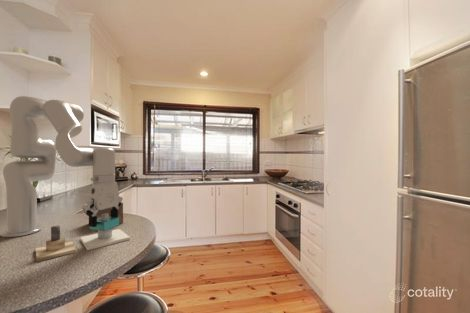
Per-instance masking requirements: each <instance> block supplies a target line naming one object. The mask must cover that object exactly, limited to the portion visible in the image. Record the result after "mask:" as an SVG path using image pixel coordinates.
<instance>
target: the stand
mask: <svg viewBox="0 0 470 313" xmlns="http://www.w3.org/2000/svg"><path fill="white" fill-rule="evenodd" d="M74 253H77V248H76V247H75V244H74V242H73V240H72V239H69V240H66V238H65V237H64V236H61V225H54V226H51V227H50V239H47V240H46V241H45V245H41V246H37V247H35V259H36V263H39V262H42V261H47V260H50V259H54V258H58V257H62V256H66V255H70V254H74Z"/></svg>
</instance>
